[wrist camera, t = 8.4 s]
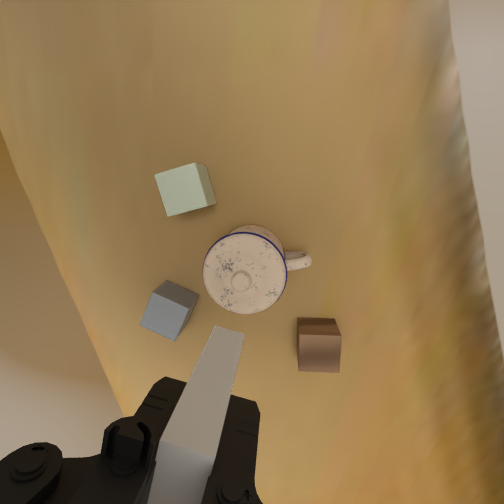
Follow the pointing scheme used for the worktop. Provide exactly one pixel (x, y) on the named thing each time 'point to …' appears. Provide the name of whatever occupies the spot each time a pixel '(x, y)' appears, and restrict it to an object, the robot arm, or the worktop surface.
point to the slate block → (169, 310)
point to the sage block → (185, 188)
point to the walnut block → (318, 345)
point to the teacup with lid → (249, 269)
